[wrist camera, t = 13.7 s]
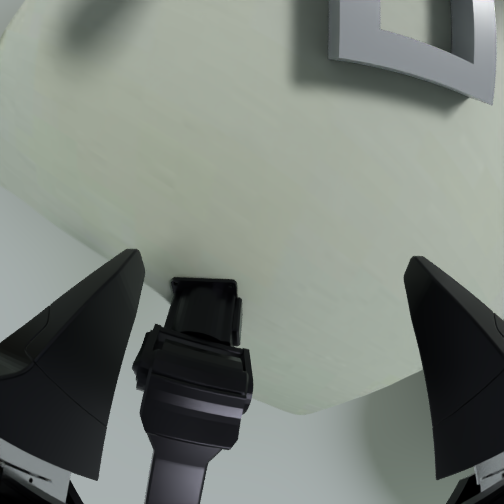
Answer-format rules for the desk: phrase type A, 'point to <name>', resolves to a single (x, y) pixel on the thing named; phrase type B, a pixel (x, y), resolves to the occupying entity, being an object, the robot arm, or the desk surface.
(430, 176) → the desk surface
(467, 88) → the dock
